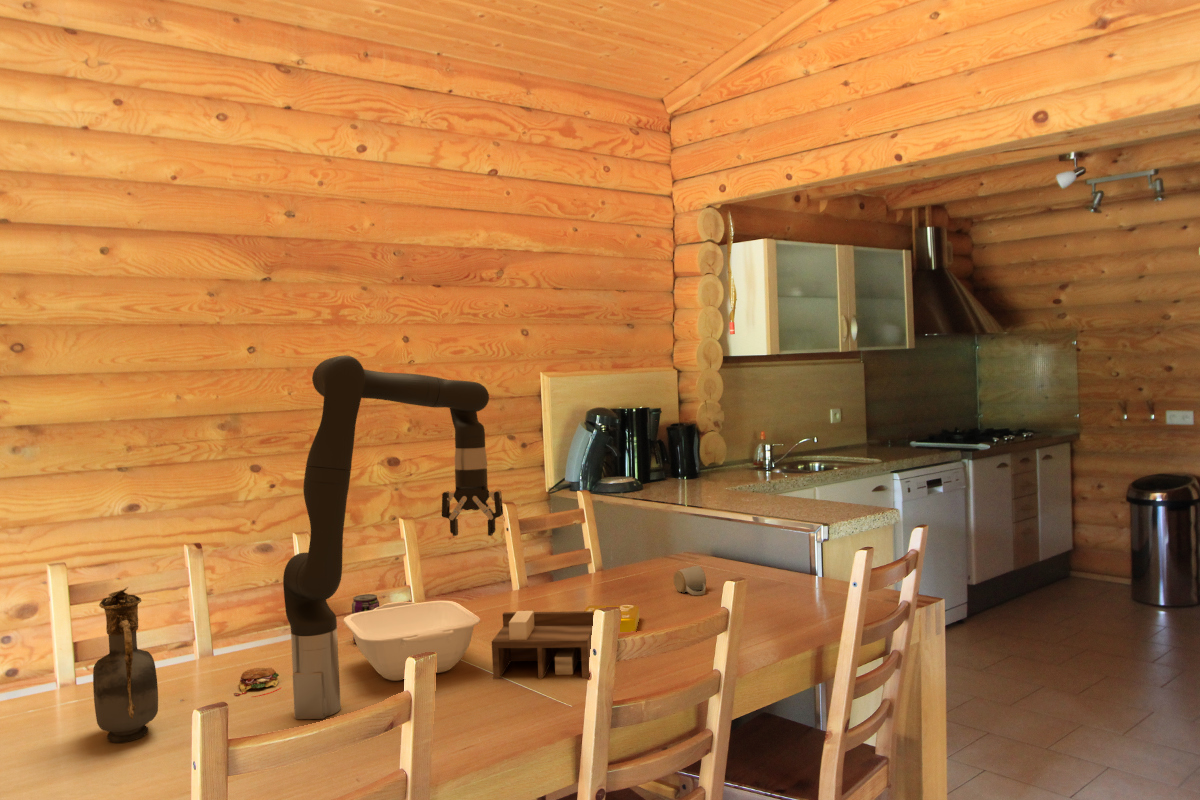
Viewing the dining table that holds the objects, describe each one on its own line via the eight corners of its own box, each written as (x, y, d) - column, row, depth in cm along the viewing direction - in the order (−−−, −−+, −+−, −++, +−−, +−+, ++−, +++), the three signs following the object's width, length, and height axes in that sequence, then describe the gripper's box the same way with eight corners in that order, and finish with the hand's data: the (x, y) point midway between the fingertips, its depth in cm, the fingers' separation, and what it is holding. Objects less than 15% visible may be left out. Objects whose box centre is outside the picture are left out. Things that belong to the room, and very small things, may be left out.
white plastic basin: (494, 678, 205) (491, 623, 204) (369, 703, 192) (366, 644, 192) (449, 642, 235) (447, 594, 235) (338, 661, 222) (336, 610, 222)
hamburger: (220, 686, 209) (219, 660, 209) (284, 675, 214) (282, 650, 214) (221, 704, 196) (219, 677, 196) (288, 693, 201) (287, 666, 201)
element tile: (587, 620, 252) (586, 603, 252) (640, 620, 250) (639, 603, 250) (579, 635, 237) (578, 617, 237) (635, 635, 236) (635, 617, 235)
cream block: (526, 639, 205) (525, 622, 205) (509, 639, 205) (508, 622, 205) (534, 627, 215) (533, 610, 215) (518, 627, 215) (517, 610, 215)
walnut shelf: (588, 678, 202) (586, 627, 202) (493, 678, 204) (491, 628, 204) (595, 658, 216) (593, 611, 216) (505, 659, 218) (503, 612, 218)
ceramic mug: (672, 590, 281) (671, 566, 281) (694, 587, 285) (693, 563, 284) (689, 598, 271) (689, 573, 271) (712, 594, 275) (712, 569, 275)
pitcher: (153, 717, 188) (145, 575, 188) (165, 746, 172) (157, 592, 172) (93, 730, 182) (85, 584, 182) (101, 761, 166) (92, 601, 166)
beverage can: (373, 645, 234) (371, 600, 234) (348, 645, 236) (346, 600, 235) (385, 637, 241) (383, 593, 241) (361, 637, 243) (359, 593, 242)
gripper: (436, 468, 208) (439, 538, 208) (496, 467, 206) (498, 537, 207) (446, 466, 216) (448, 533, 216) (504, 464, 214) (506, 532, 214)
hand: (473, 535), depth 211 cm, fingers open, 8 cm apart
